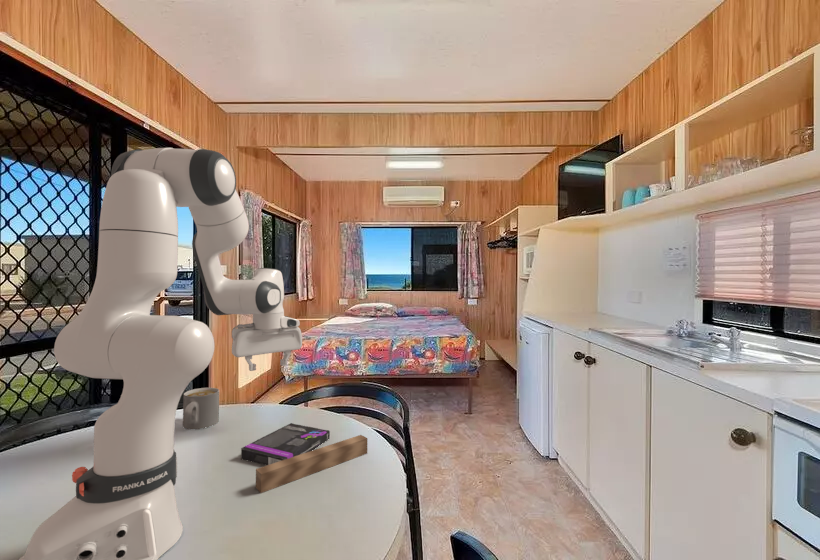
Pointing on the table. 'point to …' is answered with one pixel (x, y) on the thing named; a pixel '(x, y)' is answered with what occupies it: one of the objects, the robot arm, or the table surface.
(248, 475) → the table surface
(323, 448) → the walnut board
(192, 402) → the coffee mug
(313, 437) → the box
